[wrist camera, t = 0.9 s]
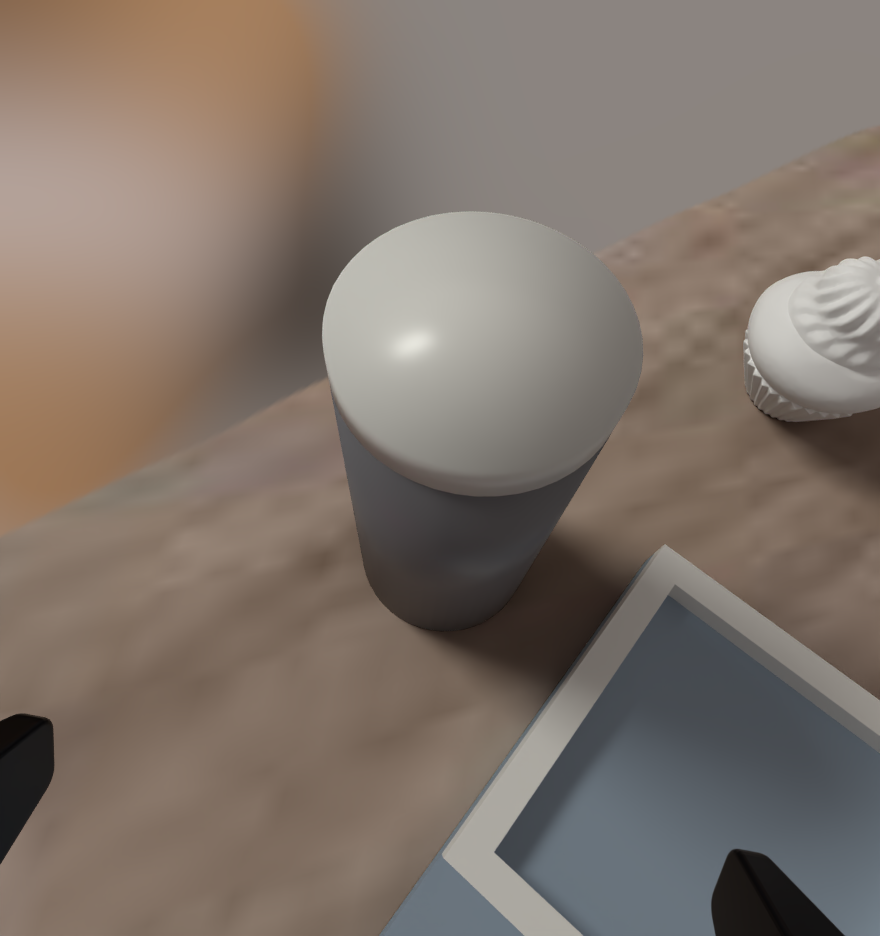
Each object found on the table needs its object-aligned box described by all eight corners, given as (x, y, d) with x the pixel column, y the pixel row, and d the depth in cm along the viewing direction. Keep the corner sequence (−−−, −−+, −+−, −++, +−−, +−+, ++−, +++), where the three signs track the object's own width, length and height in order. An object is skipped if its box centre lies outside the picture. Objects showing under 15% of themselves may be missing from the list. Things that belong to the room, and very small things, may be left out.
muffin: (681, 371, 28) (762, 253, 21) (776, 311, 29) (877, 185, 23) (788, 480, 26) (913, 385, 19) (883, 408, 27) (1026, 299, 21)
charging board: (679, 1480, 14) (718, 1582, 13) (298, 1049, 17) (286, 1080, 16) (955, 791, 21) (1007, 793, 19) (645, 561, 24) (664, 544, 22)
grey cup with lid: (456, 667, 22) (516, 543, 10) (328, 557, 23) (252, 338, 12) (556, 540, 24) (701, 318, 12) (433, 447, 26) (459, 169, 14)
